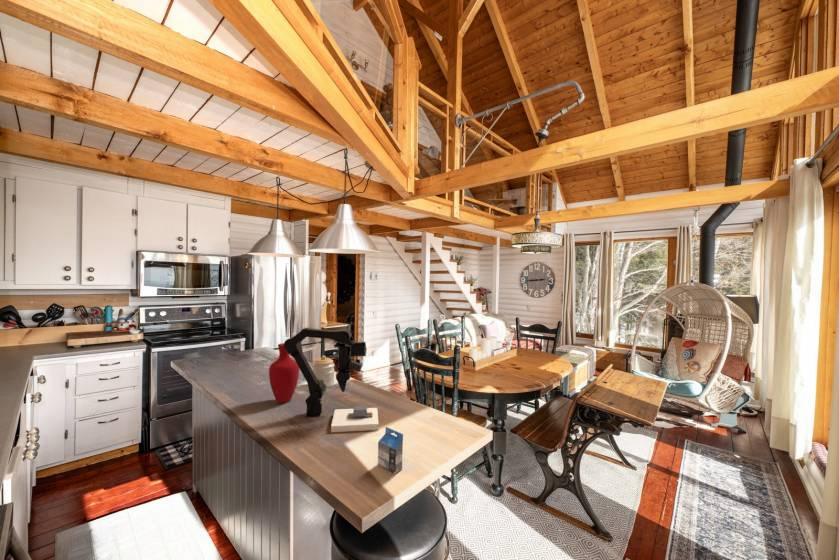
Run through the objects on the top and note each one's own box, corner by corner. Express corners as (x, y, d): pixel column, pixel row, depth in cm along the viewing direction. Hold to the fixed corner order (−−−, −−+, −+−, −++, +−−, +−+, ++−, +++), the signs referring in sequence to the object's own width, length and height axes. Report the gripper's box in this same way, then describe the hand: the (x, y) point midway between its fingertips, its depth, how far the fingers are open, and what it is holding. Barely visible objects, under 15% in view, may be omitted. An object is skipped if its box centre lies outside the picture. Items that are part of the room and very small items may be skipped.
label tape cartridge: (377, 464, 121) (377, 430, 120) (384, 460, 124) (385, 426, 124) (395, 474, 115) (395, 438, 115) (403, 469, 118) (403, 434, 118)
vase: (274, 408, 168) (274, 348, 168) (264, 400, 179) (265, 343, 179) (303, 401, 178) (304, 344, 178) (292, 394, 189) (293, 340, 189)
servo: (347, 423, 152) (347, 410, 152) (348, 420, 156) (348, 407, 156) (372, 422, 154) (372, 409, 154) (372, 418, 158) (372, 406, 158)
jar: (310, 382, 209) (311, 354, 209) (332, 380, 215) (332, 352, 214) (313, 389, 197) (314, 359, 197) (336, 386, 203) (336, 357, 203)
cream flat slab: (331, 432, 144) (331, 426, 144) (334, 414, 162) (335, 409, 162) (378, 429, 148) (378, 423, 148) (377, 412, 165) (377, 407, 165)
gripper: (361, 360, 154) (360, 394, 155) (361, 351, 173) (361, 381, 173) (336, 361, 153) (335, 395, 153) (339, 351, 171) (338, 382, 171)
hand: (343, 388), depth 163 cm, fingers open, 9 cm apart
